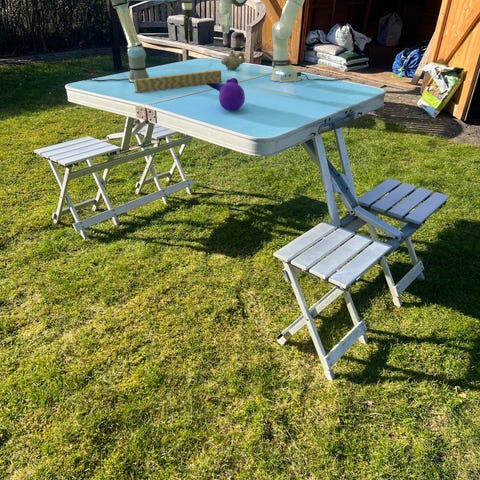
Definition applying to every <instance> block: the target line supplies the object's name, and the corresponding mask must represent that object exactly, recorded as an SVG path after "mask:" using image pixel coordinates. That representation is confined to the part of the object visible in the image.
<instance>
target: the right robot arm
mask: <svg viewBox="0 0 480 480" xmlns="http://www.w3.org/2000/svg"><path fill="white" fill-rule="evenodd" d="M247 2H248V0H218V8H217V13H218V14H217V16H218V17H217V18H218V24H219V25H220V26H221V32H222V33H225V34H227V35H228V34H229V33H230V27H232V26H233V21H232V12H233V11H232V8H233V7H232V5H234V6H235V7H238V8H240V7H243V6H245V5H246V3H247ZM304 3H305V0H286V2H285V4H284V6H283V8H282V11H281V14H280V18H279V20H278V21H276V22H274V23H273V25H272V27H271V33H272V35H271V36H272V46H273V48H272V49H273V51H272V53H273V55H272V56H273V57H272V58H273V59H272V63H271V64H272V73H271V77H270V80H271V81H273V82H280V83H288V82H299V81H302V78H301V76H304V77H306V80H307V81H327V82H332V81H333V82H335V81H342V80H349V81H352V79H351V78H350V77H344V78H335V79H334V78H333V79H325V78H314V79H313V78H312V79H311V78H309V77H308V75H307V74H305V73H302V71H298V70H297V69H296V68H295V67H294V66H293V65H292V64H293V60H291V59H289V53H290V51H289V50H290V46H289V38H291V36H292V31H293V29H294V26H295V23H296V21H297V18H298V16H299V15H300V12H301V10H302V7H303V5H304ZM350 127H351V126H350V125H348V130H347V137H349V136H350Z"/></svg>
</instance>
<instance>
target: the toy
mask: <svg viewBox="0 0 480 480" xmlns="http://www.w3.org/2000/svg"><path fill="white" fill-rule="evenodd" d="M205 85H206V86H208V87H210V88H212V89H214V90H216V91H218V92H219V93H218V101H219V104H220V106H221V107H222V108H223V109H224V110H226V111H229V112H236V111H238V110H240V109H241V108H242V107H243V105H244V103H245V101H246V94H245V90H244V89H243V87H242V86H241V85H240V84H239V81H238V79H237V78H236V77H232V78H230V79H229V78H228V79H226V81H225V83H222V82H218V83H206V84H205Z"/></svg>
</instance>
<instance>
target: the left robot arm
mask: <svg viewBox="0 0 480 480" xmlns="http://www.w3.org/2000/svg"><path fill="white" fill-rule="evenodd" d="M131 1H132V2H133V1H135V2H136V1H137V2H141V1H142V2H176V1H177V0H110V2H111V5H112V7H113V9H114V10H116V12H117V16H118V18H119V22H120V24H121V27H122V30H123V33H124V36H125V39H126V42H127V46H126V48H127V56H128V66H129V76H128V78H119V79H117V78H107V79H95V78H94V80H92V79H93V78H88V77H87V78H85V79H84V80H83V81H84V82H86V81H93V82H94V81H95V82H107V81H115V82H116V81H117V82H118V81H119V82H120V81H121V82H122V81H128V82H129V83H133V84H134V80H136V79H144V78H150V75H149V73H148V71H147V67H146V58H147V51H146V50H145V48H144V45H143V43H142V42H141V40H140V39H139V37H138V33H137V30H136V27H135V24H134V21H133V18H132V16H131V12H130V8H129V4H130V2H131ZM180 1H181V9H182V10H181V15H182V16H183V25H182V26H183V31H184V33H183V34H184V40H185V41H188V42H189V43H192V42H194V31H195V30H194V25H193V19H192V16H193V0H180Z"/></svg>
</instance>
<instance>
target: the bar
mask: <svg viewBox="0 0 480 480" xmlns="http://www.w3.org/2000/svg"><path fill="white" fill-rule="evenodd" d="M222 81H223V80H222V70H220V69H213V70H205V71H197V72H188V73H182V74H181V73H179V74H171V75H163V76H153V77H149V78H144V79H136V80H134V83H133V84H134V91H135V93H137V94H140V93H148V92H155V91H164V90H171V89H178V88H187V87H195V86H202V85H207V84H206V83H222Z"/></svg>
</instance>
